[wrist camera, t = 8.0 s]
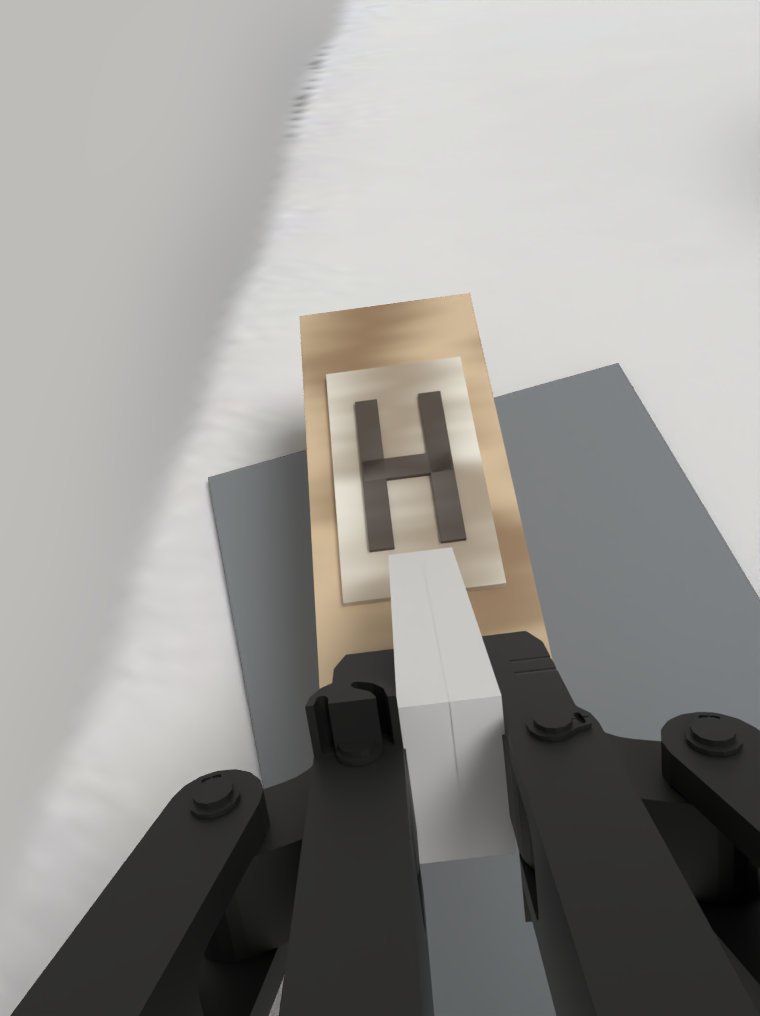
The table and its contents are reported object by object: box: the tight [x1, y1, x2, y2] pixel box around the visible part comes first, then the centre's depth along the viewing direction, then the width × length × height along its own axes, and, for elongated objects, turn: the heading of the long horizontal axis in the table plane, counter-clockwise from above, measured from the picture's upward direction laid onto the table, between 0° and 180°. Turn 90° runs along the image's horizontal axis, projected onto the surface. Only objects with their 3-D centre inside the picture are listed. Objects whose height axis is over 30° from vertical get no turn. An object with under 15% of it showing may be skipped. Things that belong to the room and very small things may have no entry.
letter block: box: [300, 293, 552, 688], centre depth 23 cm, size 6×6×16 cm
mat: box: [208, 363, 760, 1016], centre depth 24 cm, size 18×22×1 cm
